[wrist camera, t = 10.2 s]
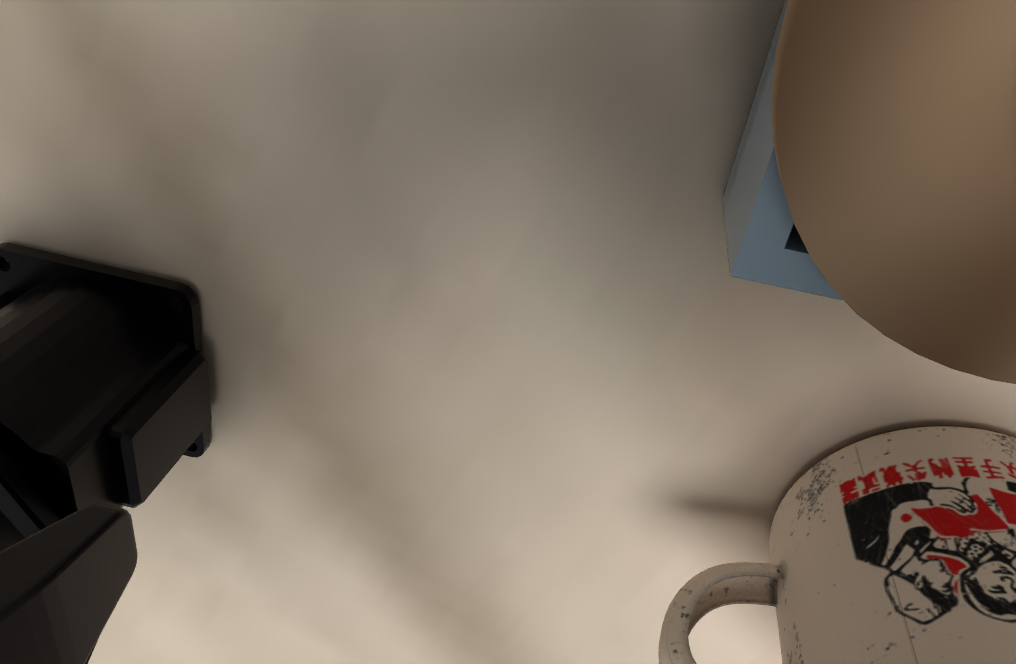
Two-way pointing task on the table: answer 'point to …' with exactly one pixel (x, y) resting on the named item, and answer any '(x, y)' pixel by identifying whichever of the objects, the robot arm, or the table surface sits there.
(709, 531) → the table surface
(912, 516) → the teacup with lid
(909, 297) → the lid
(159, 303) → the robot arm
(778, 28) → the dish
